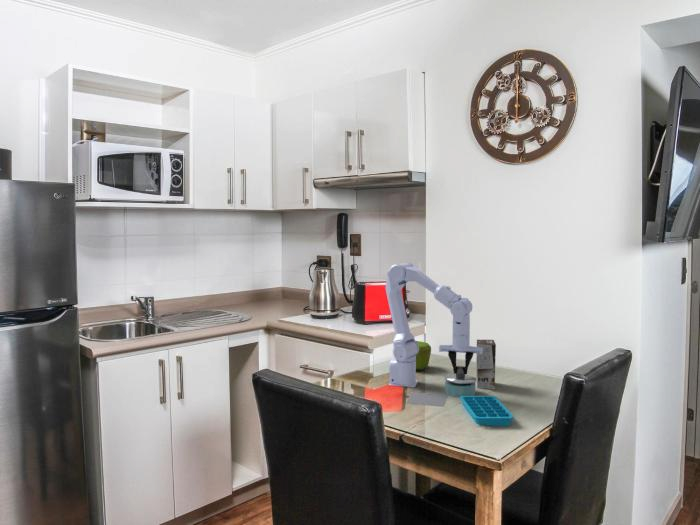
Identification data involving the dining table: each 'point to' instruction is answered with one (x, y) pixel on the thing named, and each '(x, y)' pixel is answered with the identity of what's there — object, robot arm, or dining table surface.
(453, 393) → the bowl
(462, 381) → the lid
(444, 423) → the dining table surface
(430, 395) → the mat
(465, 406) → the ice cube tray
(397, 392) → the dining table surface
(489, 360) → the coffee box
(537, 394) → the dining table surface
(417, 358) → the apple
